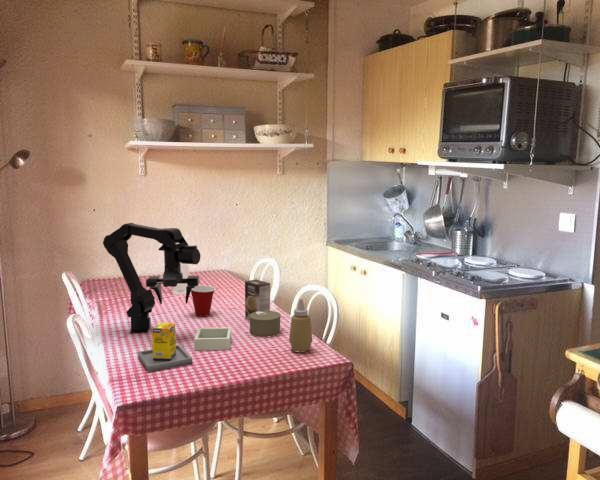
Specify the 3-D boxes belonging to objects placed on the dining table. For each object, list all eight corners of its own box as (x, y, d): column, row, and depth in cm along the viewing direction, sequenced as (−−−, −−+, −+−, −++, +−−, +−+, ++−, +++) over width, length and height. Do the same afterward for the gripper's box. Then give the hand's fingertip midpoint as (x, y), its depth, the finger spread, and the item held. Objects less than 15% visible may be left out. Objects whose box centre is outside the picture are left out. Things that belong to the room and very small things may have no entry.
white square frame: (194, 350, 179) (194, 339, 178) (198, 338, 190) (198, 328, 190) (229, 349, 180) (229, 338, 179) (231, 337, 191) (231, 327, 191)
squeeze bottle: (292, 355, 175) (292, 303, 172) (286, 347, 182) (286, 297, 179) (315, 352, 177) (315, 301, 174) (308, 344, 184) (308, 295, 182)
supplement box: (170, 361, 166) (169, 328, 165) (152, 360, 167) (151, 328, 165) (176, 354, 172) (175, 322, 170) (158, 353, 173) (157, 322, 171)
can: (259, 339, 190) (259, 321, 189) (243, 331, 199) (243, 313, 198) (286, 333, 197) (286, 316, 196) (269, 325, 206) (269, 308, 205)
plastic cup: (217, 317, 216) (217, 289, 214) (191, 319, 213) (190, 291, 211) (214, 310, 226) (214, 283, 225) (189, 312, 224) (188, 285, 222)
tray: (138, 357, 172) (137, 351, 172) (179, 350, 179) (179, 344, 178) (148, 372, 160) (148, 366, 160) (192, 363, 167) (192, 358, 166)
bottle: (180, 295, 251) (179, 238, 246) (168, 293, 255) (166, 237, 251) (192, 292, 257) (191, 236, 253) (180, 289, 262) (178, 235, 257)
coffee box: (244, 319, 214) (244, 281, 211) (256, 316, 218) (256, 278, 216) (258, 324, 207) (258, 285, 205) (270, 320, 212) (270, 282, 209)
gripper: (141, 267, 182) (143, 310, 184) (195, 266, 183) (196, 309, 186) (148, 261, 193) (150, 302, 195) (199, 260, 194) (200, 301, 197)
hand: (173, 303), depth 193 cm, fingers open, 9 cm apart
